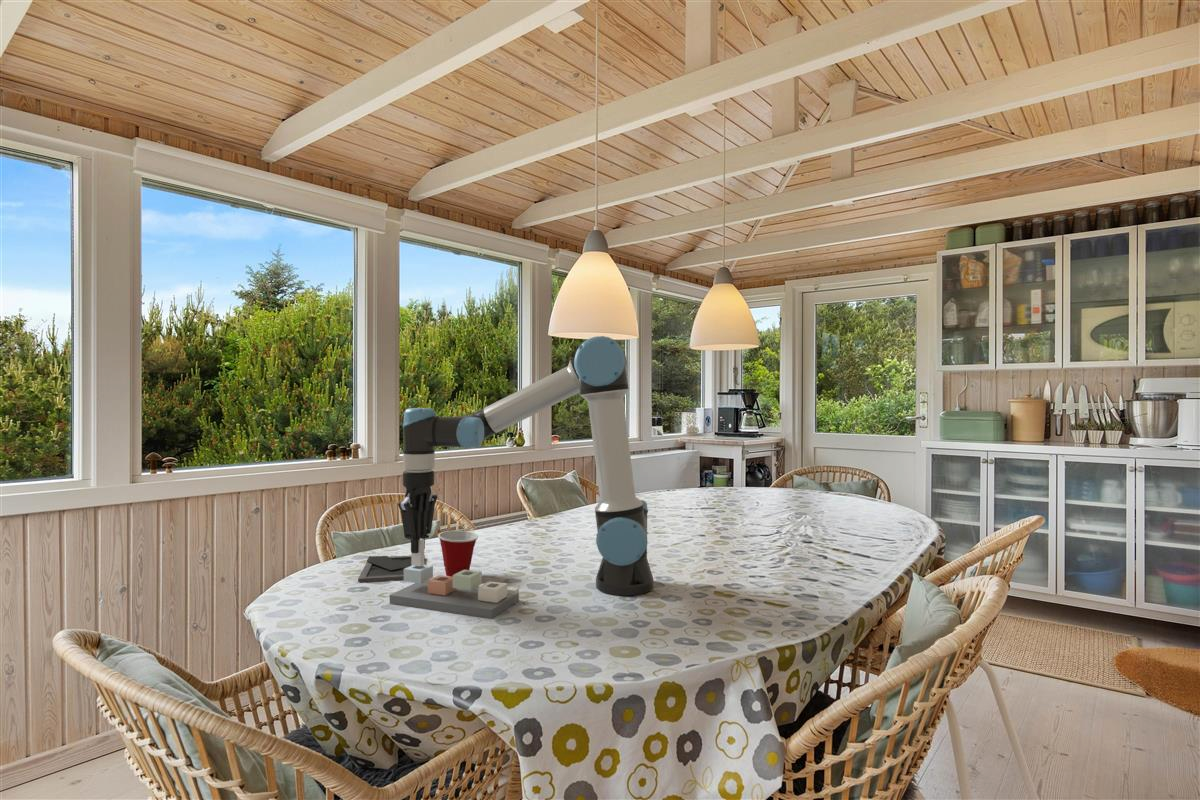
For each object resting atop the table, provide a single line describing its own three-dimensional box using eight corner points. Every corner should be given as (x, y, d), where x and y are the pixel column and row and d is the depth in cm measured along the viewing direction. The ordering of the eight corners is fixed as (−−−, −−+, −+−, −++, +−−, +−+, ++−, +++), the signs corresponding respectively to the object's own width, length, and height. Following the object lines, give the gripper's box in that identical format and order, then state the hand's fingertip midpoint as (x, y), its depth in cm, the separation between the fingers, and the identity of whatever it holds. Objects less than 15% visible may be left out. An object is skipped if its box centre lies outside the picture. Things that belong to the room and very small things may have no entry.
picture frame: (369, 562, 185) (358, 584, 164) (369, 556, 185) (358, 577, 164) (424, 559, 188) (420, 580, 168) (424, 553, 188) (420, 573, 168)
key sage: (481, 584, 150) (481, 571, 150) (470, 590, 145) (470, 576, 145) (464, 581, 152) (464, 568, 152) (452, 587, 147) (452, 574, 147)
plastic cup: (468, 585, 163) (468, 539, 163) (430, 582, 165) (430, 537, 165) (484, 573, 173) (484, 530, 173) (448, 570, 176) (448, 528, 175)
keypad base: (518, 600, 151) (518, 588, 151) (491, 618, 139) (492, 605, 139) (422, 587, 161) (422, 575, 161) (389, 603, 148) (389, 590, 148)
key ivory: (507, 596, 148) (507, 583, 148) (496, 602, 143) (496, 589, 143) (488, 593, 149) (489, 580, 149) (478, 600, 145) (478, 586, 145)
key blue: (433, 577, 155) (433, 565, 155) (420, 583, 150) (420, 570, 150) (416, 575, 157) (416, 563, 156) (403, 581, 152) (403, 568, 152)
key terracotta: (456, 589, 152) (457, 576, 152) (445, 595, 148) (445, 582, 148) (439, 586, 154) (439, 574, 154) (427, 593, 149) (427, 580, 149)
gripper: (422, 466, 160) (421, 556, 161) (388, 472, 148) (387, 570, 148) (446, 468, 158) (445, 559, 158) (415, 474, 145) (414, 574, 146)
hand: (417, 564), depth 153 cm, fingers closed
